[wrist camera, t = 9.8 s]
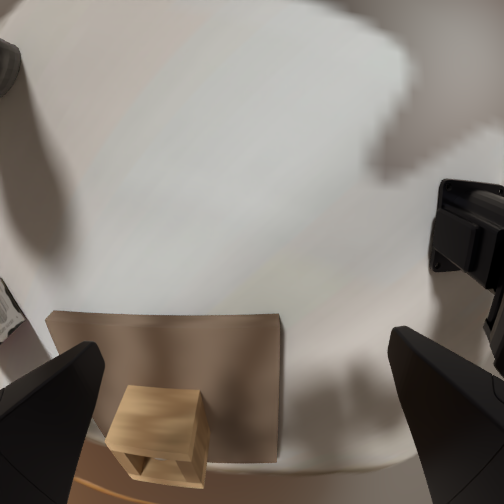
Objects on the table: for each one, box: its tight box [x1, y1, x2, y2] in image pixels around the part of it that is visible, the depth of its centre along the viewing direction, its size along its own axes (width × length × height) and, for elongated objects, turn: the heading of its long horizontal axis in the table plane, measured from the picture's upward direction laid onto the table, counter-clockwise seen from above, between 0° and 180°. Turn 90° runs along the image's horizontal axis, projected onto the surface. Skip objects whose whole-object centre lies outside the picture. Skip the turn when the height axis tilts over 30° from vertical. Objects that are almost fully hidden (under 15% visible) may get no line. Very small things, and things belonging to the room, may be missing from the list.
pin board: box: [45, 311, 280, 463], centre depth 21 cm, size 18×18×6 cm
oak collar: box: [105, 385, 211, 489], centre depth 20 cm, size 6×6×6 cm
